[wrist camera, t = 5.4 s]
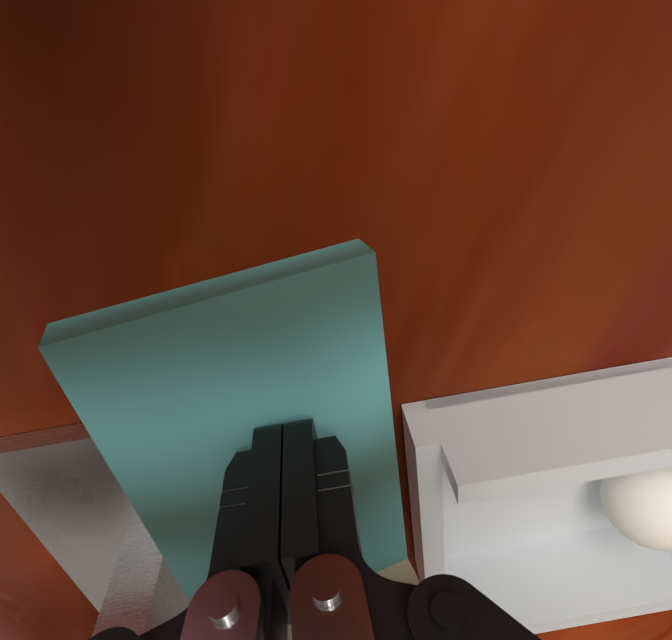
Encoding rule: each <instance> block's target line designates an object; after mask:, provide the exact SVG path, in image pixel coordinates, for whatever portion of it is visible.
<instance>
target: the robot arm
mask: <svg viewBox="0 0 672 640" xmlns="http://www.w3.org/2000/svg"><path fill="white" fill-rule="evenodd" d="M219 506H220V510H219V511H218V518H217V524H216V530H215V536H214V542H213V549H212V555H211V561H210V567H209V572H208V577H207V579H206V582H204V583H203V584H202V585H201V586H200V588H199V589H198V590H197V591H196V593H195V594H194V596H193V598H192V600H191V602H190V604H189V606H188V607H187V608H186V609H185V610H184V611H182V612H181V613H180V614H179V615H177V616H175V617H174V618H172V619H170V620H168V621H166V622H164V623H162V624H160V625H158V626H157V627H155V628H153V629H151V630H149V631H147V632H145V633H143V634H141V635H139V636H138V635H137V634H136V633H135V632H134V631H133V630H131V629H129V628H126V627H112V628H109V629H106V630H104V631H101V632H99V633H98V634H96V635H95V636H93V637H92V638H90V639H89V640H288V625H290V624H291V628H292V640H541V639H540V638H538V637H537V636H536V635H535V634H533V633H532V632H531V631H529V630H528V629H527V628H526V627H524V626H523V625H522V624H521V623H519V622H518V621H517V620H516V619H514V618H513V617H512V616H511V615H509V614H508V613H507V612H505V611H504V610H503V609H502V608H500V607H499V606H498V605H497V604H495V603H494V602H493V601H492V600H490V599H489V598H488V597H486V596H485V595H484V594H483V593H481V592H480V591H479V590H478V589H476V588H475V587H474V586H473V585H471V584H470V583H468V582H467V581H466V580H464V579H462V578H460V577H457V576H454V575H449V574H437V575H433V576H430V577H428V578H425V579H424V580H423V581H421V582H420V583H419V584H418V585H414V584H409V583H404V582H398V581H394V580H390V579H387V578H385V577H382V576H380V575H379V574H377V573H376V572H374V571H373V570H372V569H371V568H370V567H369V566H368V564H367V563H366V562H365V560H364V559H363V555H362V548H361V541H360V534H359V527H358V520H357V513H356V506H355V498H354V491H353V486H352V480H351V475H350V470H349V465H348V459H347V454H346V450H345V448H344V447H343V446H342V444H341V443H340V441H339V440H338V439H337V437H336V436H330V437H324V438H317V434H316V429H315V425H314V421H313V419H312V418H310V419H304V420H298V421H293V422H287V423H284V424H283V423H282V424H276V425H270V426H264V427H258V428H254V431H253V438H252V448H251V450H248V451H242V452H236V453H235V455H234V457H233V458H232V460H231V462H230V463H229V465H228V467H227V468H226V470H225V474H224V480H223V487H222V494H221V499H220V505H219Z"/></svg>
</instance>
